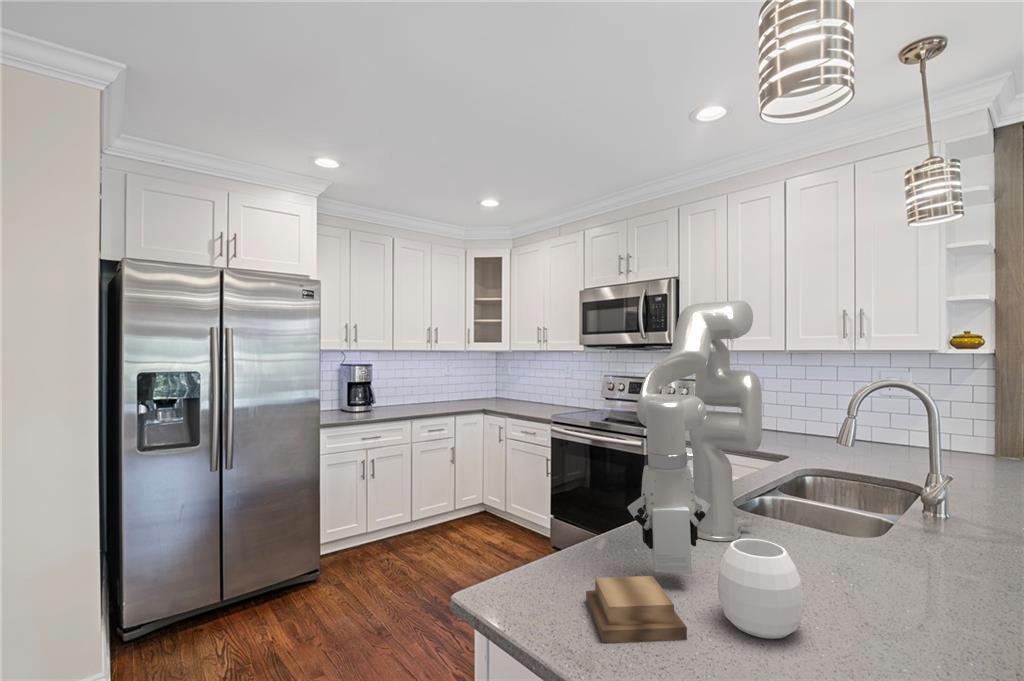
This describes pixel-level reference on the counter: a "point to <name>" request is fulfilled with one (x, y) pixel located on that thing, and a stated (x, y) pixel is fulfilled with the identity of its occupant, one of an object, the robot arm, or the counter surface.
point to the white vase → (760, 588)
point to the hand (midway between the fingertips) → (670, 544)
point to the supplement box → (671, 540)
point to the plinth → (634, 629)
